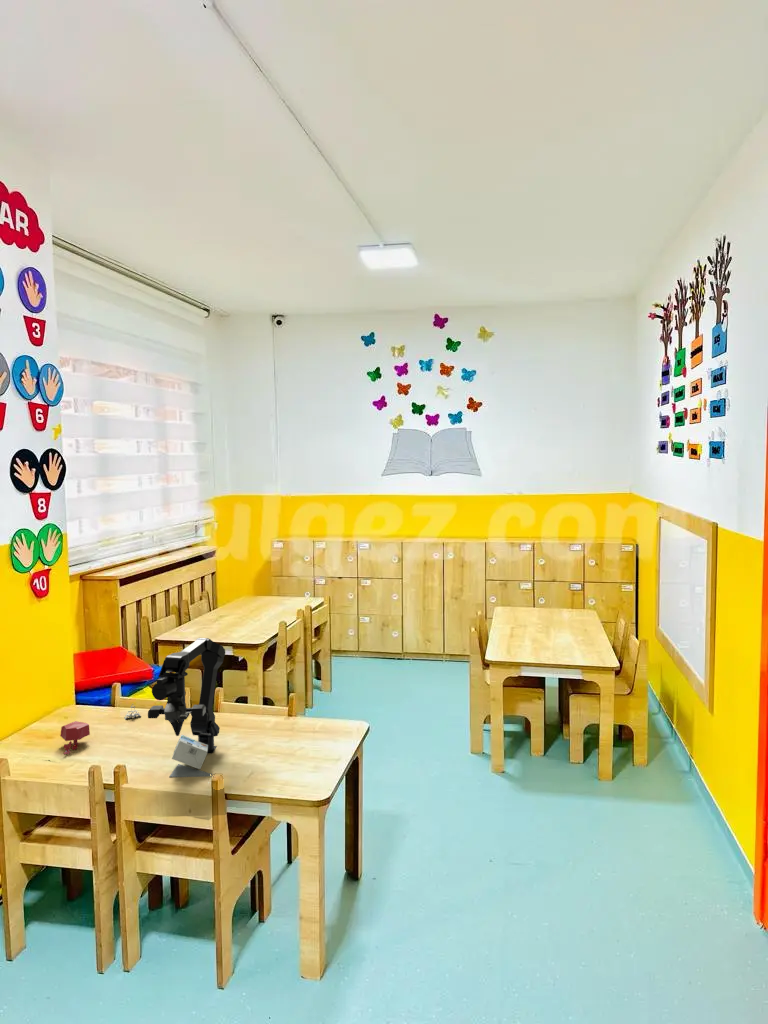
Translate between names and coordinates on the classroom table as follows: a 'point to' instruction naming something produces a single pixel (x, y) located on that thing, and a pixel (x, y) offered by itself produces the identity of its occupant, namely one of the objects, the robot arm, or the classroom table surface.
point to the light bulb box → (190, 752)
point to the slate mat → (188, 772)
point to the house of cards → (133, 713)
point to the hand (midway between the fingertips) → (177, 735)
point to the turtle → (74, 734)
